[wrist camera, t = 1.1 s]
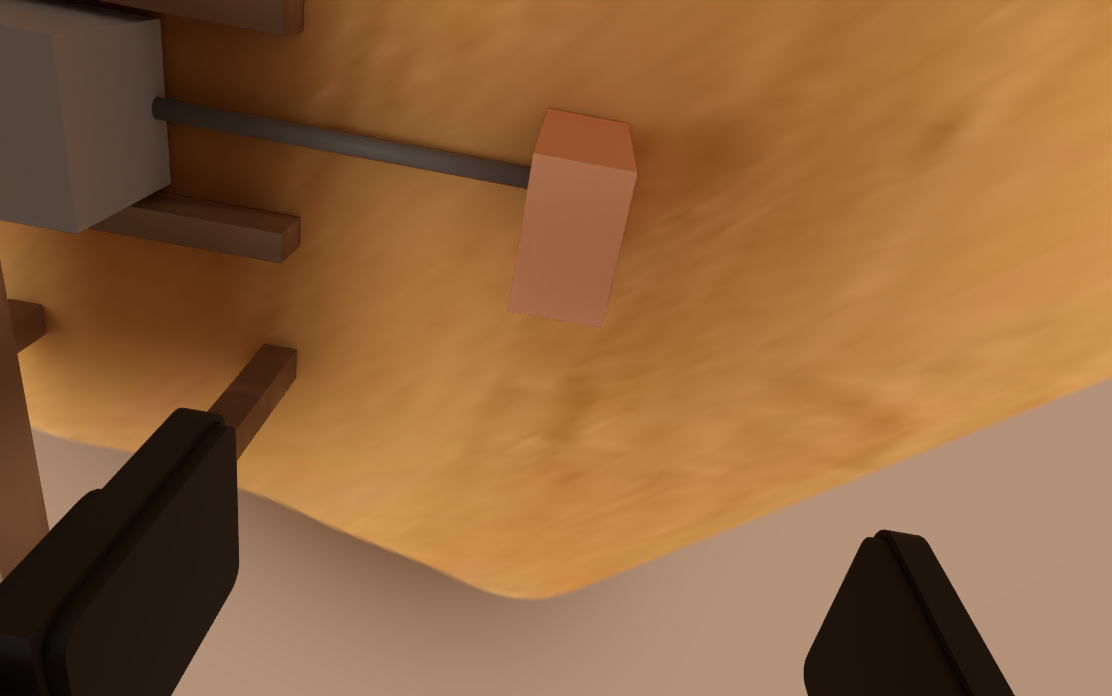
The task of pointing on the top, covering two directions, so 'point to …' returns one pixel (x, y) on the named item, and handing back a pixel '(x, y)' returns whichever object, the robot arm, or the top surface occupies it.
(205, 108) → the lopsided dumbbell
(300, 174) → the top surface
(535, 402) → the top surface
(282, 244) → the wooden side table
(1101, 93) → the top surface
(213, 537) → the robot arm
